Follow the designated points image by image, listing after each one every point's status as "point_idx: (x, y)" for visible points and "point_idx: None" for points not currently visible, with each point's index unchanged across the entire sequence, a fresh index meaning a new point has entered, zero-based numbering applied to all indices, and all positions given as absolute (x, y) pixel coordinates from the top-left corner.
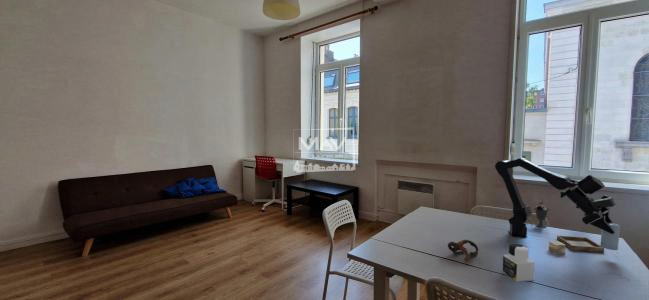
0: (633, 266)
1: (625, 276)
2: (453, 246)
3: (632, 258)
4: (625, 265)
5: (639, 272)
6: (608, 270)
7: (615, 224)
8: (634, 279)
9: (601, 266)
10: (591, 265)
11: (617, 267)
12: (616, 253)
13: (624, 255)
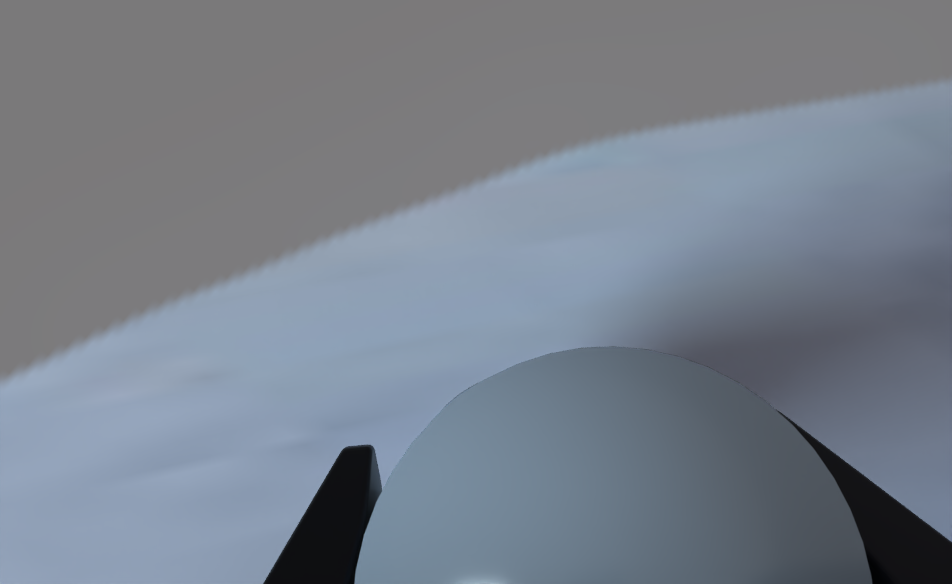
0: (539, 227)
1: (924, 215)
2: None
3: (255, 289)
4: (584, 285)
5: (676, 155)
6: (915, 360)
7: (498, 492)
8: (924, 148)
9: (863, 438)
10: (937, 517)
11: (731, 323)
12: (217, 449)
13: (216, 370)
